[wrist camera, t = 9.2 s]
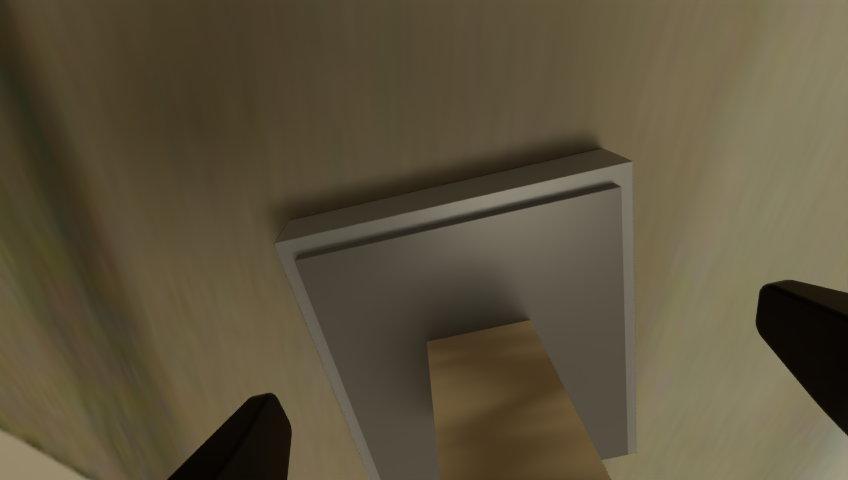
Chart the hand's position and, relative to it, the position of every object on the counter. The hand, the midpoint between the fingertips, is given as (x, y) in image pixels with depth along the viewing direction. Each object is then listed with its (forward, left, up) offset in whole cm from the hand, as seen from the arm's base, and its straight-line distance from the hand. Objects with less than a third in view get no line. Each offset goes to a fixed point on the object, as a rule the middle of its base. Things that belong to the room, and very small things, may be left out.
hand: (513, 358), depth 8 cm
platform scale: (0, +8, -11) cm, 14 cm away
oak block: (0, +8, -8) cm, 12 cm away
